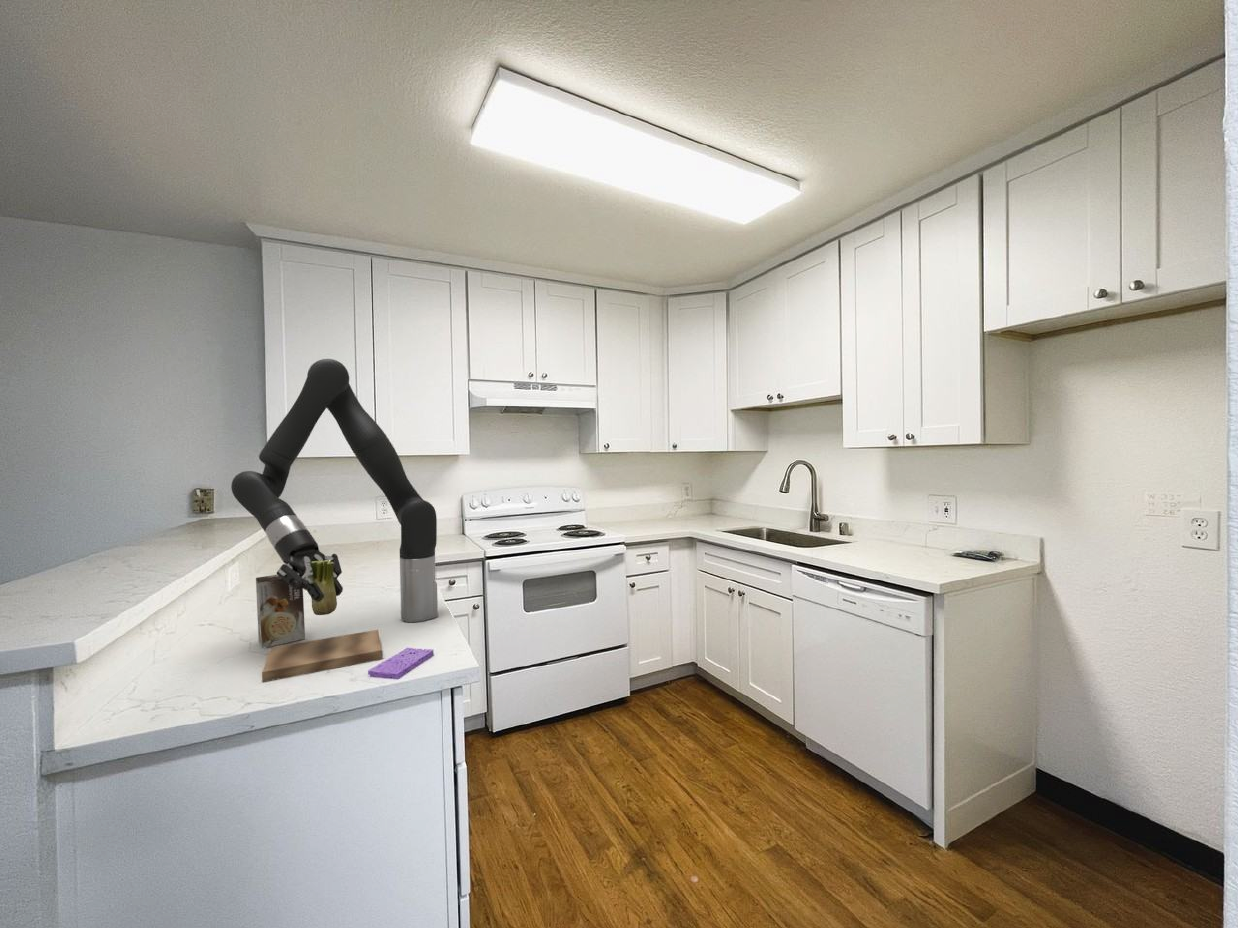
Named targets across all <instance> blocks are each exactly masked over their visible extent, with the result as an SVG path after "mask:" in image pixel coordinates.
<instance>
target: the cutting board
mask: <svg viewBox="0 0 1238 928" xmlns="http://www.w3.org/2000/svg"><path fill="white" fill-rule="evenodd" d="M379 632H380V631H379V629H374V630H368V631H362V632H357V633H349V634H344V635H339V636H332V637H326V638H320V639H313V640H307V641H303V642H296V643H295V642H294V643H289V644H282V645H276V646H270V650H269V652H268V656H267V658H266V660H265V663H264V666H263V669H262V671H261V679H262V680H261V681H262V683H264V682H263V681H265V682H268V681H267V680H270V681H273V680H272V679H275V680H278V679H277V678H280V679H284V678H290V677H295V676H300V675H305V674H311V673H315V672H321V671H327V670H332V669H336V668H337V669H338V668H342V667H346V666H352V665H358V664H362V663H363V664H364V663H367V662H368V663H369V662H374V661H379V660H383V647H382V642H381V638H380V633H379Z"/></svg>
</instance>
